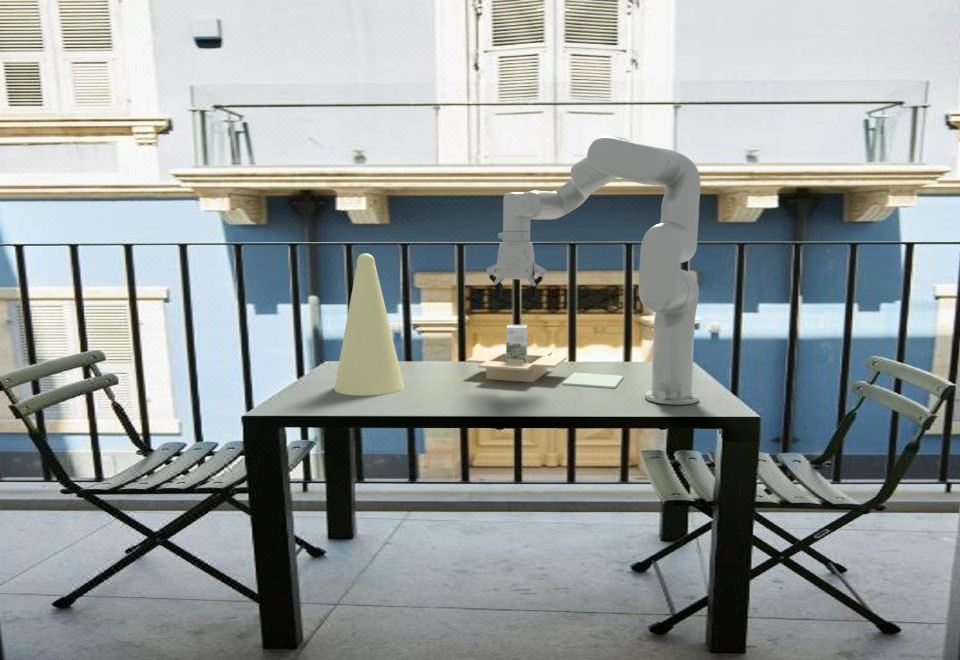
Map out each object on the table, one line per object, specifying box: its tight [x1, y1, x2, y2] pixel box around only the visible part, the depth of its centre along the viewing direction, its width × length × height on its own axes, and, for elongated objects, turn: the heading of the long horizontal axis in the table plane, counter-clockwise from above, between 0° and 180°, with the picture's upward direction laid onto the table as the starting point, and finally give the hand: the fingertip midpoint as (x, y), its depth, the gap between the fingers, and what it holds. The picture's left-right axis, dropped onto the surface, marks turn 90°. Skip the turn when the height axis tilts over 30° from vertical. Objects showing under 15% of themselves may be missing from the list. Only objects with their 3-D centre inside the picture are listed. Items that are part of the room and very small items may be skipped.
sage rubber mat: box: [562, 372, 624, 389], centre depth 192 cm, size 14×14×1 cm
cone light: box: [333, 253, 405, 397], centre depth 187 cm, size 25×18×35 cm
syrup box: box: [505, 324, 529, 363], centre depth 199 cm, size 6×6×14 cm
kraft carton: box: [465, 350, 568, 383], centre depth 199 cm, size 26×26×5 cm
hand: (515, 299), depth 197 cm, fingers open, 9 cm apart
